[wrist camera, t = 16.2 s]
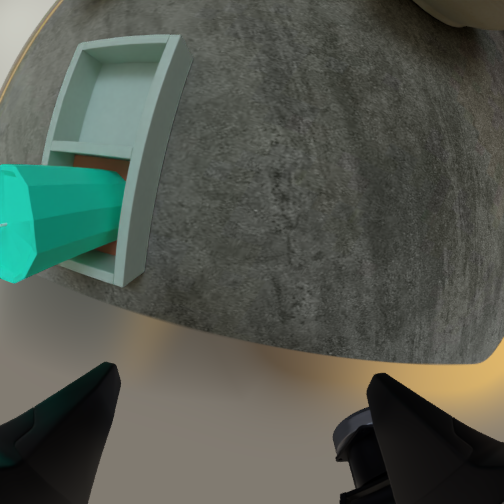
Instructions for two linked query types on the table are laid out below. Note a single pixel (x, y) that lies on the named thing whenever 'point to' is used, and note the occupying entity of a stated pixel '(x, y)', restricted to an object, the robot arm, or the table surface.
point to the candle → (54, 215)
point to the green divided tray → (120, 134)
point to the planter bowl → (467, 12)
